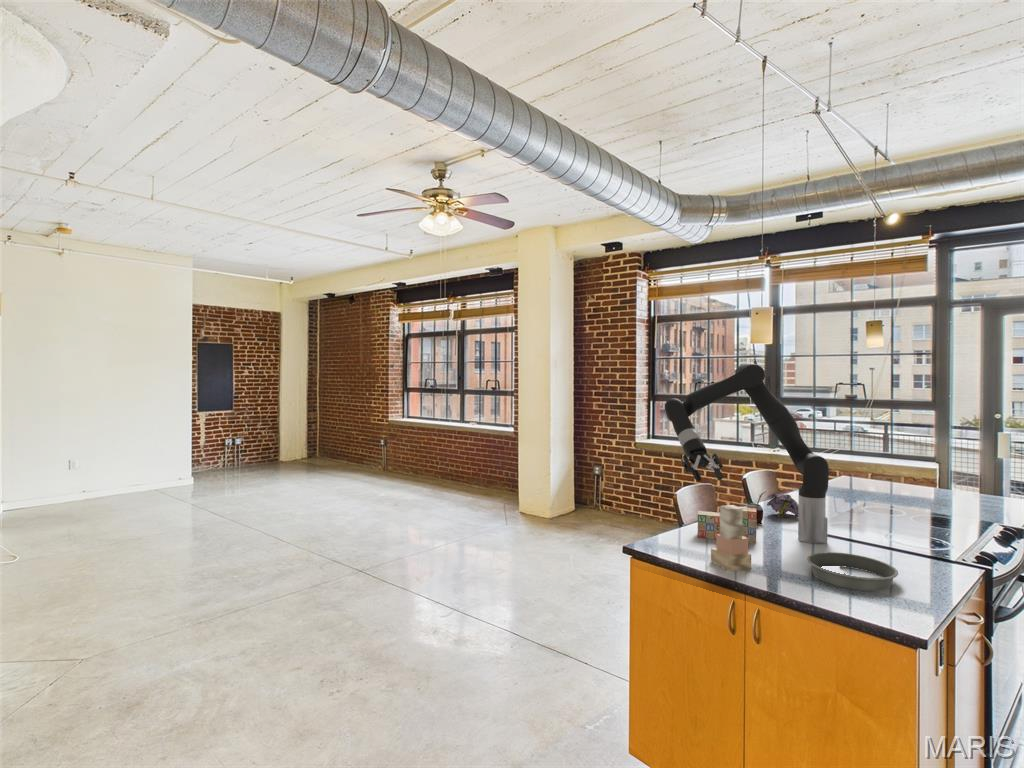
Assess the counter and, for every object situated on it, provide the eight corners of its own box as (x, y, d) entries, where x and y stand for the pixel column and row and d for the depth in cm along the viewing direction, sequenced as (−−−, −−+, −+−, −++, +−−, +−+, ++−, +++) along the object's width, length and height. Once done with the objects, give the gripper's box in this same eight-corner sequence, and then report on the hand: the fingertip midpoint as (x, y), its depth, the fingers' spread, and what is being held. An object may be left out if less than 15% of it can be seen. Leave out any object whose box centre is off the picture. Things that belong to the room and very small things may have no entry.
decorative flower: (811, 497, 247) (779, 488, 246) (808, 523, 244) (776, 514, 243) (791, 499, 261) (761, 490, 260) (788, 524, 258) (758, 515, 257)
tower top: (733, 547, 193) (733, 532, 193) (748, 553, 186) (748, 538, 186) (716, 549, 190) (716, 534, 190) (730, 555, 184) (731, 540, 184)
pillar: (733, 534, 191) (733, 505, 190) (742, 538, 186) (742, 508, 186) (719, 535, 190) (720, 505, 189) (728, 539, 185) (729, 509, 184)
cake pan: (900, 600, 160) (900, 584, 160) (803, 582, 173) (803, 568, 173) (896, 573, 181) (896, 560, 181) (810, 560, 194) (810, 547, 194)
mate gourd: (744, 520, 245) (744, 486, 245) (764, 522, 243) (764, 487, 242) (746, 525, 238) (746, 490, 238) (766, 526, 236) (766, 491, 235)
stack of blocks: (697, 537, 220) (697, 506, 220) (698, 533, 226) (698, 503, 226) (756, 543, 212) (756, 511, 212) (755, 539, 218) (756, 507, 218)
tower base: (733, 560, 194) (733, 546, 194) (751, 569, 185) (751, 554, 185) (710, 562, 192) (711, 548, 191) (727, 571, 183) (727, 556, 183)
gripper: (678, 438, 205) (697, 474, 194) (712, 436, 208) (732, 472, 198) (671, 450, 210) (688, 487, 199) (704, 449, 214) (723, 484, 203)
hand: (710, 479), depth 198 cm, fingers open, 8 cm apart
